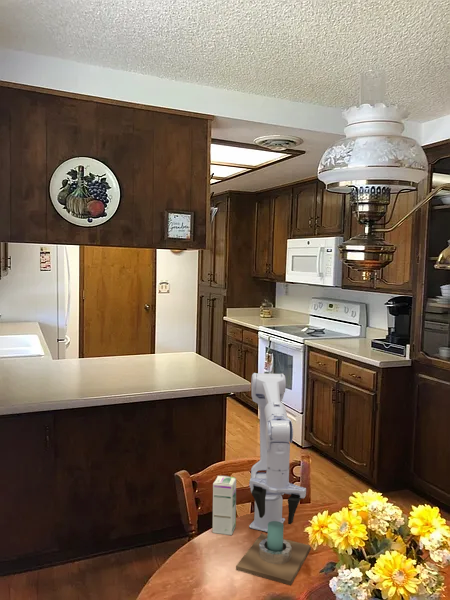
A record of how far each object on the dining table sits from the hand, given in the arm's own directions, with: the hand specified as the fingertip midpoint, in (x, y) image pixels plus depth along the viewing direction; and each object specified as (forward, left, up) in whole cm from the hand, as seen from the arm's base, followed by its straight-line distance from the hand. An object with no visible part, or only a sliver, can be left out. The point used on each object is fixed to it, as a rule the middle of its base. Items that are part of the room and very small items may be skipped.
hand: (276, 519), depth 131 cm
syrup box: (-8, -18, -11) cm, 22 cm away
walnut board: (0, 0, -10) cm, 10 cm away
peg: (0, 0, -9) cm, 9 cm away
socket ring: (0, 0, -10) cm, 10 cm away
